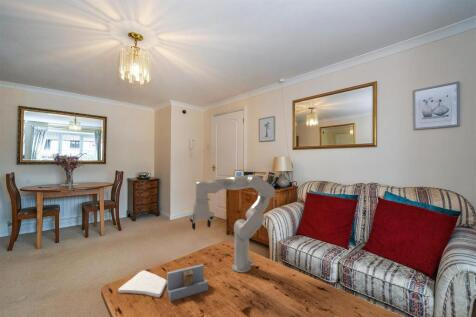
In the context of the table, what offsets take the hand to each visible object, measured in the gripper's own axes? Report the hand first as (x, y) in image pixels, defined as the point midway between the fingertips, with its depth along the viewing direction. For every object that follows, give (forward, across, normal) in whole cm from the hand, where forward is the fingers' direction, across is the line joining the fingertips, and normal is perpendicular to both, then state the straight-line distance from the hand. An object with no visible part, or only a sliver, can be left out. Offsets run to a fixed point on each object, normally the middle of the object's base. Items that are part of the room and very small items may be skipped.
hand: (201, 228), depth 132 cm
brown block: (+26, +12, +14) cm, 32 cm away
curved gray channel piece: (+28, +12, +14) cm, 34 cm away
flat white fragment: (+29, +30, -2) cm, 42 cm away
